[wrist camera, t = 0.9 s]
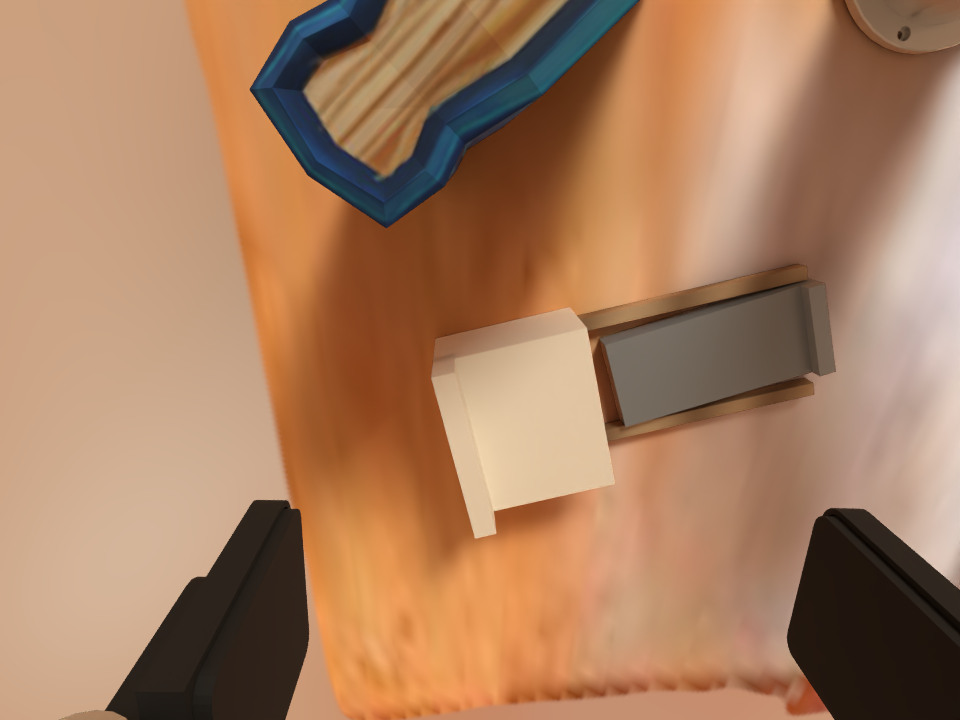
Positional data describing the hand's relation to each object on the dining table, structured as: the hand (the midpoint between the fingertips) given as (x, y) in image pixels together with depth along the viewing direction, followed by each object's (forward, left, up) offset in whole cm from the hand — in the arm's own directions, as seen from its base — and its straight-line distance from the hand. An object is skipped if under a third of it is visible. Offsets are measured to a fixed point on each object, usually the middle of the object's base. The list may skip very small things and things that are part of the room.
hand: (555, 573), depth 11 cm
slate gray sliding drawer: (-16, +10, -35) cm, 40 cm away
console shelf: (-2, +11, -35) cm, 36 cm away
